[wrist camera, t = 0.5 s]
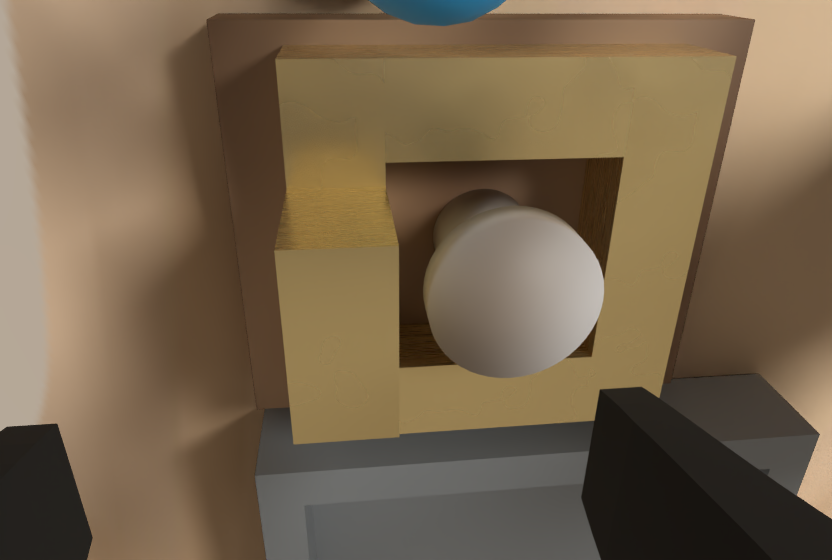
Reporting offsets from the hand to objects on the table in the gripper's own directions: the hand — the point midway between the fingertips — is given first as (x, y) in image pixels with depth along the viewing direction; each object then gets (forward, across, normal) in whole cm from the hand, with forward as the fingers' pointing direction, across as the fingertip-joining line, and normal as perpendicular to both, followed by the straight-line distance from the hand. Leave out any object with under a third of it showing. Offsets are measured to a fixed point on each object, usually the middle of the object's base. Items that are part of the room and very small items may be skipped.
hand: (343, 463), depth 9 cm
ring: (+8, -4, 0) cm, 9 cm away
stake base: (+9, -4, 0) cm, 10 cm away
